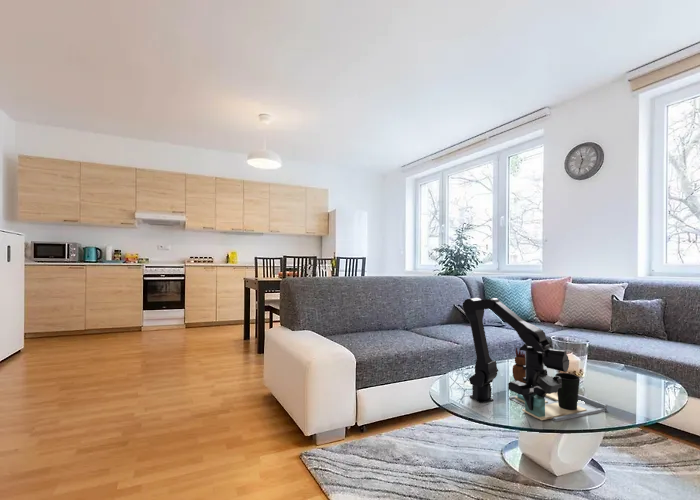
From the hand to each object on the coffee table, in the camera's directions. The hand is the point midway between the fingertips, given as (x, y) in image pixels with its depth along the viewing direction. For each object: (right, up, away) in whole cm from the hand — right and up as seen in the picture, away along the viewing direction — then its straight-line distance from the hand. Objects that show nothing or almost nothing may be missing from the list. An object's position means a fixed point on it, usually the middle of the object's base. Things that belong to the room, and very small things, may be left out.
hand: (534, 409), depth 129 cm
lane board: (+13, -3, +10) cm, 17 cm away
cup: (+15, -2, +5) cm, 16 cm away
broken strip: (+11, -2, +15) cm, 19 cm away
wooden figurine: (+11, -3, +35) cm, 37 cm away
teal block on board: (+9, -2, +3) cm, 10 cm away
